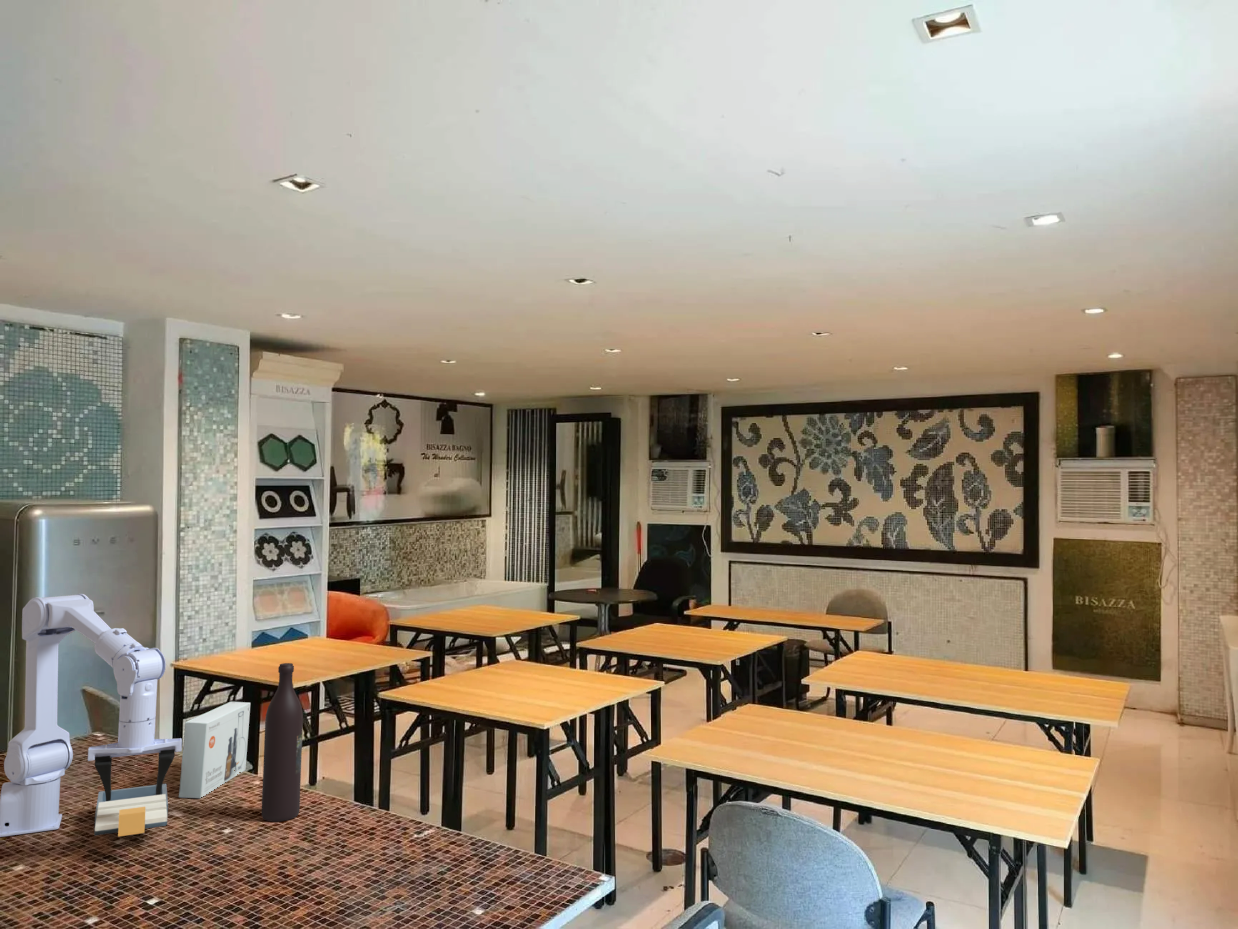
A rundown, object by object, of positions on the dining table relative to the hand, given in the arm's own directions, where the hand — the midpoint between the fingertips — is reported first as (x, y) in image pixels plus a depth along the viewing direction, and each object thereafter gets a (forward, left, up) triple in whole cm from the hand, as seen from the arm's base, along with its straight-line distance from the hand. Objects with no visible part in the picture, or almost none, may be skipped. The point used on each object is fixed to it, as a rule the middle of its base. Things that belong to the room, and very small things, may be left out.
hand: (133, 796), depth 153 cm
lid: (0, +6, -5) cm, 8 cm away
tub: (0, +19, -10) cm, 21 cm away
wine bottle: (+26, +8, -10) cm, 29 cm away
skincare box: (+16, +36, -10) cm, 41 cm away
